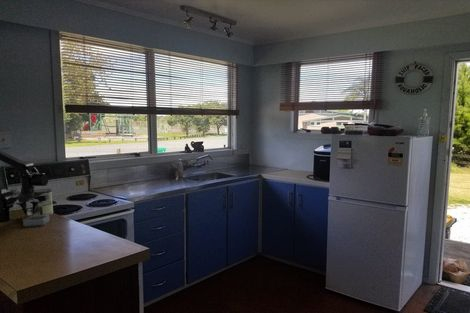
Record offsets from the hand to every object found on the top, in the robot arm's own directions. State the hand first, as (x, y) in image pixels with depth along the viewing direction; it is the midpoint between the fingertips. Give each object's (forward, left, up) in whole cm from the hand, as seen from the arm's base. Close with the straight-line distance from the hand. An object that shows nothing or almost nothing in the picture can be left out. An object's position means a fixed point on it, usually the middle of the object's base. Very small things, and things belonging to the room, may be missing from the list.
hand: (29, 214), depth 188 cm
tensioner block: (-2, 0, -4) cm, 4 cm away
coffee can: (-13, +3, -4) cm, 14 cm away
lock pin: (0, 0, -4) cm, 4 cm away
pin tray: (+8, +6, -4) cm, 11 cm away
